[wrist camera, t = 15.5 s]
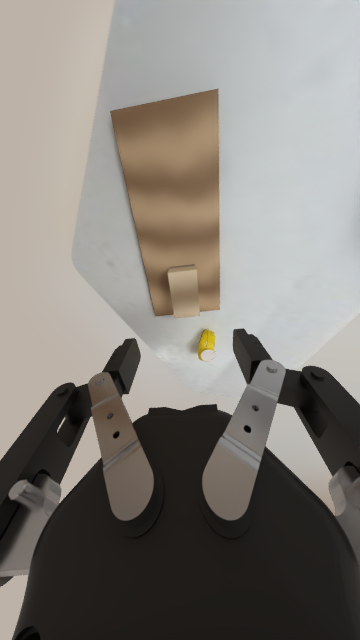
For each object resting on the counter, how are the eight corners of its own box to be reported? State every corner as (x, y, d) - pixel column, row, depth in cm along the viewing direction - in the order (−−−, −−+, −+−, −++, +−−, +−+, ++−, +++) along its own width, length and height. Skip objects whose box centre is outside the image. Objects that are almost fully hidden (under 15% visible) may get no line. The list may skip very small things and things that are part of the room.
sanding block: (169, 267, 26) (167, 273, 22) (194, 264, 25) (196, 269, 21) (175, 306, 29) (174, 318, 25) (197, 304, 29) (199, 315, 25)
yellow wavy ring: (202, 324, 33) (206, 339, 27) (214, 327, 33) (221, 342, 28) (194, 348, 35) (196, 366, 30) (206, 350, 36) (210, 369, 30)
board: (115, 119, 19) (110, 111, 18) (215, 99, 18) (218, 88, 17) (156, 312, 31) (155, 316, 30) (218, 306, 30) (219, 309, 29)
